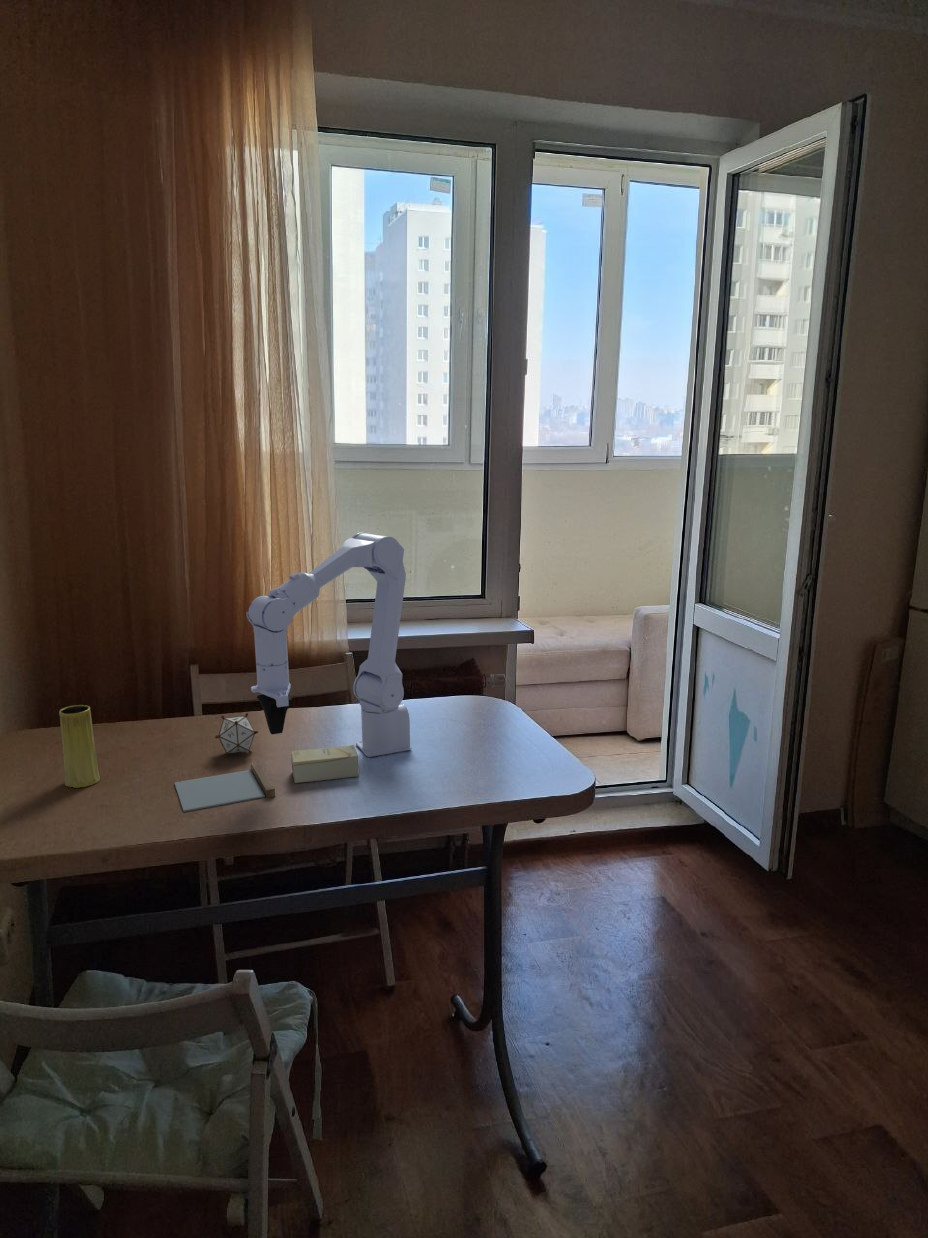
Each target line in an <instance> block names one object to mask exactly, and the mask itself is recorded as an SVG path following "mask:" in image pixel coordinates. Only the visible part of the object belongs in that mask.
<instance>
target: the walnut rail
mask: <svg viewBox="0 0 928 1238" xmlns="http://www.w3.org/2000/svg"><path fill="white" fill-rule="evenodd" d="M250 768H251V769H250V770H251V772H252V773H253V775H254V777H255V779H256V781H257V782H258V784H259V786H260V788H261V790H262V791H263V793H264V795H265V798H266V799H270V798H273V797H276V789H275V787H274V785H273V783H272V781H271V779H270V778H269V776H268V774H267V773H266V771H265V770H264V768H263V767H262V765H261V763H260V762H259V761H253V762H250Z"/></svg>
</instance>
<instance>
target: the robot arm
mask: <svg viewBox="0 0 928 1238" xmlns="http://www.w3.org/2000/svg"><path fill="white" fill-rule="evenodd" d="M404 553H405V549H404V547H403V545H401V544H400V542H399V541H398V540H397V539H396V538H395V537H393V536H391V535H390V536H389V535H388V536H387V535H378V534H371V533H367V532H365V531H364V532H362V531H361V532H358V533H355V534H353V536H352V537H350V538H347V539H346V540H344V542H343V544H342V546H341V547H340V548H338V549H337V550H336V551H334V552H333V553H332V554H331V555H329V556H328V557H327V558H326V559H325V560H323V561H322V562H321V563H319V565H317V566H316V567H315V568H313V569H312V570H311V571H309V572H303V571H301V572H300V571H299V572H297V573H296V572H293V573H291V574H290V575H289V576H288V577H289V579H288V580H286V581H285V582H284V583H282V584H280V585H279V586H278V587H277V588H274V587H273V588H272V589H270V590H269V591H268V592H269V594H268V595H260V596H257V597H256V598H254V599H253V600H252V602H251V604H250V605H249V606H248V607H249V608H248V611H246V613H245V614H246V618H247V621H248V622H249V623H250V624H251V625H252V629H253V634H254V636H253V637H254V650H255V651H254V652H255V665H256V666H255V667H256V668H255V669H256V682H257V683H256V685H253V686H250V691H251V692H252V694H253V693H254V694H255V693H259V695H257V696H256V698H257V701H258V702H259V703H260V705H261V707H262V710H263V713H264V717H265V719H266V724H267V728H268V731H269V734H271V735H278V734H283V731H284V727H285V720H286V717H287V712H288V709H289V707H290V706H291V704H292V699H293V698H292V697H291V696H290V691H291V683H290V674H289V673H290V671H289V656H288V655H289V653H288V651H289V650H288V637H287V636H288V635H287V629H288V628H289V626H290V625H291V623H292V621H293V618H294V616H295V615H296V614H297V613H299V612H300V611H301V610H302V609H304V608H306V607H307V606H308V605H310V604H311V603H312V602H314V601H315V600H317V599H318V598H319V596H320V593H321V592H320V591H321V590H320V589H321V588H322V587H324V586H325V585H327V584H329V583H330V582H332V581H333V580H335V579H336V578H338V577H340V575H343V574H344V573H345V572H347V571H350V569H352V568H364V569H365V570H367V571H368V572H369V574H370V575H371V576H372V577H373V578H374V580H375V581H376V590H375V591H376V592H375V598H374V599H375V600H374V608H373V613H372V615H373V616H372V623H371V629H370V639H369V645H368V646H369V647H368V653H367V654H368V655H367V659H365V660H364V661H363V662H362V663H361V664H360V665H359V668H358V669H359V670H358V673H357V676H356V677H355V680H354V682H353V689H352V690H353V694H354V696H355V697H356V698H357V699H358V701H359V705H360V708H361V711H360V712H361V713H360V714H361V718H360V719H361V741H356V742H355V745H356V746H357V747H358V748H359V750H360V751H362V753H364V755H365V756H366V757H368V758H371V757H377V756H381V755H382V756H383V755H388V754H395V753H402V752H405V751H411V750H412V746H411V729H410V727H411V726H410V725H411V723H410V722H411V721H410V713H409V710H408V708H407V706H406V705H405V704H404V703H402V701H403V699H404V695H405V691H404V690H405V689H404V686H403V673H402V671H401V670H400V668H399V666H398V665H397V663H396V656H397V649H398V642H399V641H398V640H399V635H400V627H401V625H400V623H401V619H402V618H401V617H402V610H403V602H404V594H405V585H406V579H407V578H406V577H407V576H406V575H407V574H406V570H405V569H406V568H405V566H404Z"/></svg>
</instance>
